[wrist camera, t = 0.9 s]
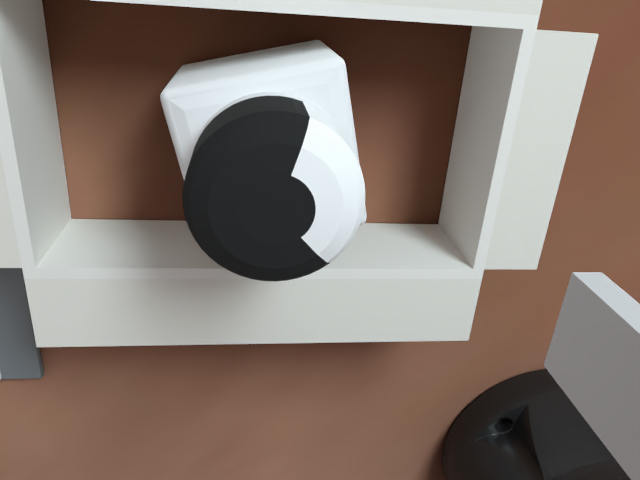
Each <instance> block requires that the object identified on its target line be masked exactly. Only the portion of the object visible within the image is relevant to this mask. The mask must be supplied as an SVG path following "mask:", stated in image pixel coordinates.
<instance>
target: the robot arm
mask: <svg viewBox="0 0 640 480" xmlns="http://www.w3.org/2000/svg"><path fill="white" fill-rule="evenodd" d="M544 366H545V368H546V369H544V370H538V371H533V372H529V373H525V374H522V375H519V376H516V377H513V378H511V379H509V380H506V381H504V382H502V383H500V384H498V385H496V386H495V387H493V388H491V389H490V390H488V391H486V392H485V393H484V394H482V395H481V396H479V397H478V398H477V399H476V400H475V401H473V402H472V403H471V404H470V405H469V406H468V407H467V408H466V409H465V410H464V411H463V412H462V413H461V415H460V416H459V417H458V418H457V420H456V421H455V423H454V424H453V426H452V427H451V429H450V431H449V433H448V435H447V437H446V440H445V443H444V447H443V452H442V468H443V473H444V476H445V478H446V480H640V304H639V303H638V302H637V301H635V300H634V299H633V298H632V297H631V296H629V295H628V294H627V293H626V292H625V291H623V290H622V289H621V288H620V287H619V286H617V285H616V284H615V283H614V282H613V281H611V280H610V279H609V278H608V277H607V276H605V275H604V274H603V273H602V272H572V275H571V278H570V281H569V285H568V288H567V291H566V294H565V298H564V301H563V304H562V307H561V311H560V314H559V317H558V321H557V324H556V327H555V330H554V334H553V337H552V340H551V343H550V347H549V350H548V353H547V357H546V360H545V363H544ZM1 378H2V377H1V373H0V379H1Z"/></svg>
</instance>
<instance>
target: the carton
mask: <svg viewBox="0 0 640 480" xmlns="http://www.w3.org/2000/svg"><path fill="white" fill-rule="evenodd" d="M92 1H107V2H122V3H137V4H152V5H167V6H182V7H197V8H212V9H227V10H243V11H258V12H273V13H288V14H303V15H318V16H333V17H348V18H363V19H378V20H394V21H409V22H424V23H439V24H454V25H469V26H472V30H471V36H470V42H469V48H468V53H467V59H466V65H465V71H464V77H463V82H462V88H461V94H460V100H459V106H458V112H457V117H456V123H455V129H454V135H453V141H452V147H451V152H450V158H449V164H448V170H447V176H446V181H445V187H444V193H443V199H442V205H441V211H440V216H439V222H438V224H388V223H364V224H363V225H361V226H359V228H358V230H357V231H356V233H355V235H354V237H353V239H352V240H351V242H350V243H349V244H348V246H347V247H346V248H345V249H344V251H343V252H342V253H341V254H340V255H339V256H338V257H337V258H335V259H334V260H333V261H332V262H331V263H329V264H328V265H326V266H325V267H323V268H321V269H320V270H318V271H316V272H313V273H311V274H309V275H306V276H303V277H300V278H297V279H292V280H287V281H260V280H254V279H249V278H246V277H243V276H239V275H237V274H235V273H233V272H230V271H228V270H227V269H225V268H223V267H222V266H220V265H218V264H217V263H216V262H215V261H213V260H212V259H211V258H210V257H209V256H208V255H207V254H206V253H205V252H204V251H203V250H202V249H201V248H200V246H199V245H198V243H197V242H196V241H195V239H194V237H193V235H192V233H191V231H190V230H189V227H188V224H187V221H177V220H107V219H71V211H70V204H69V197H68V189H67V182H66V174H65V167H64V159H63V152H62V145H61V137H60V130H59V122H58V115H57V108H56V100H55V93H54V85H53V78H52V70H51V63H50V56H49V48H48V41H47V33H46V26H45V19H44V11H43V4H42V0H0V268H22V270H23V276H24V281H25V287H26V292H27V298H28V303H29V309H30V314H31V319H32V325H33V330H34V336H35V341H36V347H90V346H152V345H214V344H277V343H339V342H401V341H463V340H469V336H470V331H471V327H472V322H473V317H474V313H475V308H476V304H477V299H478V295H479V290H480V285H481V281H482V276H483V272H484V269H537V266H538V262H539V258H540V255H541V251H542V247H543V243H544V239H545V236H546V232H547V228H548V224H549V221H550V217H551V213H552V209H553V205H554V202H555V198H556V194H557V190H558V186H559V183H560V179H561V175H562V171H563V168H564V164H565V160H566V156H567V152H568V149H569V145H570V141H571V137H572V134H573V130H574V126H575V122H576V118H577V115H578V111H579V107H580V103H581V99H582V96H583V92H584V88H585V84H586V81H587V77H588V73H589V69H590V65H591V62H592V58H593V54H594V50H595V47H596V43H597V39H598V35H599V34H595V33H580V32H565V31H550V30H536V29H537V25H538V20H539V16H540V11H541V6H542V2H543V0H92Z"/></svg>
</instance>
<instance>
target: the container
mask: <svg viewBox="0 0 640 480" xmlns="http://www.w3.org/2000/svg"><path fill="white" fill-rule="evenodd" d="M160 100H161V104H162V107H163V111H164V114H165V117H166V121H167V124H168V128H169V131H170V135H171V138H172V141H173V145H174V148H175V152H176V155H177V158H178V162H179V165H180V169H181V172H182V176H183V179H184V186H183V208H184V214H185V218H186V221H187V224H188V227H189V230H190V231H191V233H192V235H193V237H194V239H195V241H196V242H197V243H198V245H199V246H200V248H201V249H202V250H203V251H204V252H205V253H206V254H207V255H208V256H209V257H210V258H211V259H212V260H213V261H215V262H216V263H217V264H218V265H220V266H222V267H223V268H225V269H227V270H228V271H230V272H233V273H235V274H237V275H239V276H243V277H246V278H249V279H254V280H260V281H287V280H292V279H297V278H300V277H303V276H306V275H309V274H311V273H313V272H316V271H318V270H320V269H321V268H323V267H325V266H326V265H328V264H329V263H331V262H332V261H333V260H334V259H335V258H337V257H338V256H339V255H340V254H341V253H342V252H343V251H344V249H345V248H346V247H347V246H348V244H349V243H350V242H351V240H352V239H353V237H354V235H355V233H356V231H357V230H358V228H359V226H361V225H363V224H364V223H365V221H366V216H367V215H366V208H365V185H364V179H363V175H362V171H361V168H360V165H359V158H358V150H357V143H356V136H355V129H354V122H353V114H352V107H351V100H350V93H349V86H348V78H347V71H346V64H345V62H344V60H343V59H342V58H341V57H340V56H339V55H337V54H336V53H335V52H334V51H332V50H331V49H330V48H329V47H328V46H326V45H325V44H324V43H323V42H321V41H320V40H312V41H306V42H301V43H296V44H291V45H285V46H280V47H275V48H269V49H264V50H259V51H254V52H248V53H243V54H238V55H232V56H227V57H222V58H217V59H211V60H206V61H201V62H195V63H190V64H185V65H183V66H181V67H180V69H179V70H178V71H177V73H176V74H175V75H174V76H173V78H172V79H171V80H170V82H169V83H168V84H167V86H166V87H165V88H164V89H163V91H162V93H161V94H160Z"/></svg>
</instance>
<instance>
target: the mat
mask: <svg viewBox="0 0 640 480" xmlns="http://www.w3.org/2000/svg"><path fill="white" fill-rule="evenodd" d="M0 373H1V377H2V378H1V379H30V378H42V376H43V374H44V370H43V364H42V359H41V353H40V348H39V347H36V341H35V336H34V330H33V325H32V319H31V314H30V309H29V303H28V298H27V292H26V287H25V281H24V276H23V270H22V268H0Z"/></svg>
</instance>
